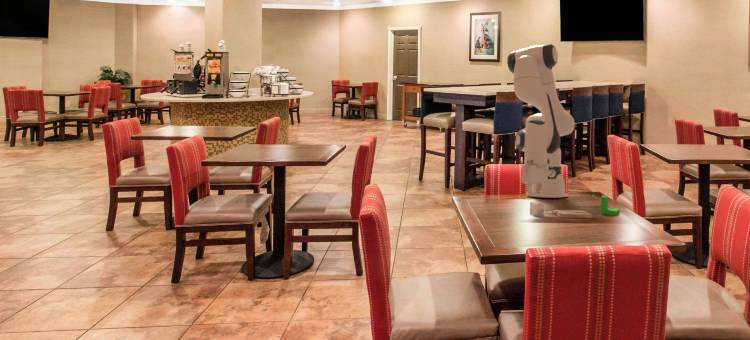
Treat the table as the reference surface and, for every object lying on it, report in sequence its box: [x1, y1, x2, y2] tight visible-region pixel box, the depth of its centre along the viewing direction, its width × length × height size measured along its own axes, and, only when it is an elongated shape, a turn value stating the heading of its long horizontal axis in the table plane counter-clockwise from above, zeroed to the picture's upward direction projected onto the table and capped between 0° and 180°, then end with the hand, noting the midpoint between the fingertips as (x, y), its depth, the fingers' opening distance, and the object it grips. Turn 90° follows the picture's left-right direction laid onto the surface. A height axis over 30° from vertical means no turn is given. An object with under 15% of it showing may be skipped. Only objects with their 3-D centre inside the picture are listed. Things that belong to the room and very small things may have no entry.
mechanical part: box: [600, 194, 620, 216], centre depth 258 cm, size 12×6×8 cm, turn 152°
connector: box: [529, 201, 545, 218], centre depth 249 cm, size 12×4×5 cm, turn 179°
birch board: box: [551, 209, 594, 219], centre depth 250 cm, size 14×12×2 cm
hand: (534, 194), depth 250 cm, fingers open, 8 cm apart
